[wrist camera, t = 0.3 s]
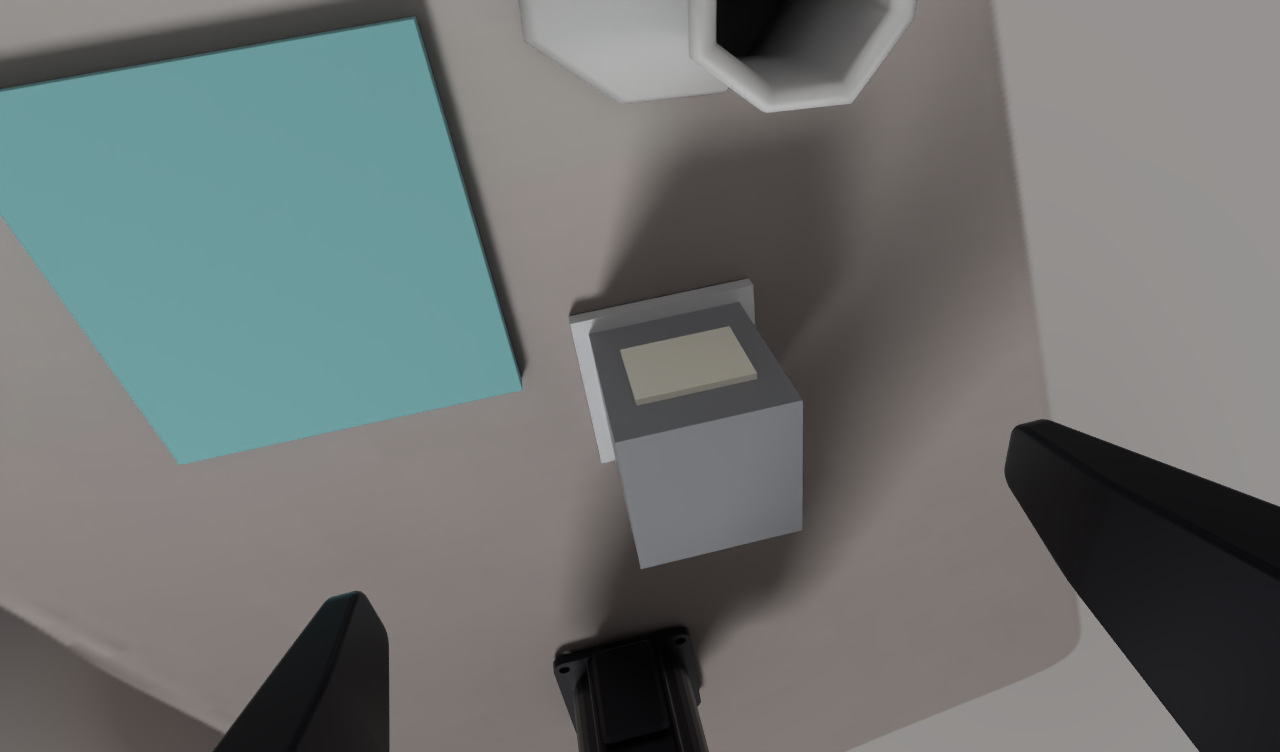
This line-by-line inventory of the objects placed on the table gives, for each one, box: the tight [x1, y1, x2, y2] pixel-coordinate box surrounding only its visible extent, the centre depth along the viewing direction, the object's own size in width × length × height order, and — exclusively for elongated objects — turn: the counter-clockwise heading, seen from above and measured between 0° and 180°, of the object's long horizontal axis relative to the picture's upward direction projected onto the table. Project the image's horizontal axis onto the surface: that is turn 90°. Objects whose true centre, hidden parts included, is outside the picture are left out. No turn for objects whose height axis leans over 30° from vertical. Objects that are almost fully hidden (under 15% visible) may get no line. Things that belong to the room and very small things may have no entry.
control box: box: [569, 278, 803, 569], centre depth 21 cm, size 6×6×6 cm
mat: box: [0, 16, 522, 465], centre depth 19 cm, size 11×11×1 cm
